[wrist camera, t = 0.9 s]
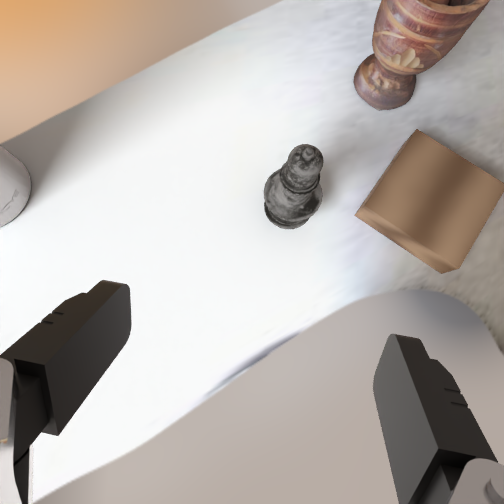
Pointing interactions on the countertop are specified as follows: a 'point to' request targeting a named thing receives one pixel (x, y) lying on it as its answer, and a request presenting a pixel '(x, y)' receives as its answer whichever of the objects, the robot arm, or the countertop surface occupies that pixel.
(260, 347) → the countertop surface
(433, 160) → the walnut plinth
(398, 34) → the mortar and pestle
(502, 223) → the countertop surface
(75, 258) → the countertop surface
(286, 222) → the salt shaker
